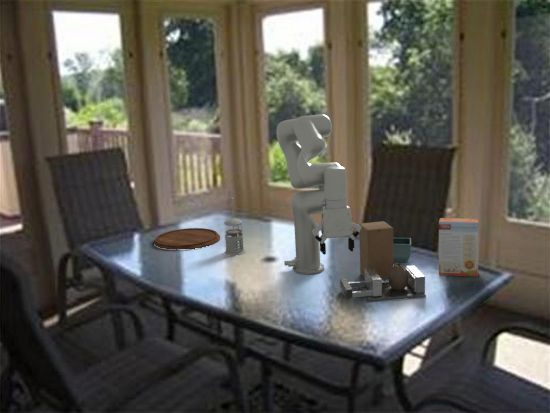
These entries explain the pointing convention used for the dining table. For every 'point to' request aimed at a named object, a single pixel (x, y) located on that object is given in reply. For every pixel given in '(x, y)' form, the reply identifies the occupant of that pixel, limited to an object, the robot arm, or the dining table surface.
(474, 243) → the cracker box
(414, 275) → the vise
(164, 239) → the cutting board
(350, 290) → the sliding jaw
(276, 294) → the dining table surface
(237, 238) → the french press
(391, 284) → the vase
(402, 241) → the flower pot
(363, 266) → the wooden block
